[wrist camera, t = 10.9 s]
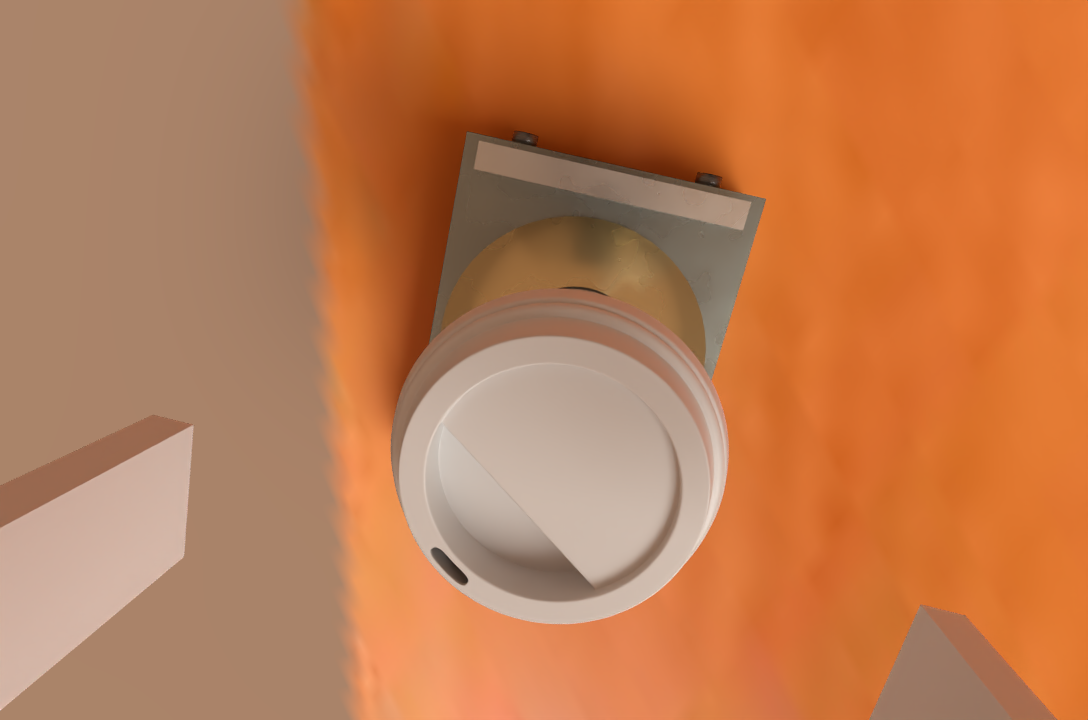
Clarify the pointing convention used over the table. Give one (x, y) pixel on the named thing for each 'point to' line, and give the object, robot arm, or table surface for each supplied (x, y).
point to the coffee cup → (558, 454)
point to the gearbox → (596, 237)
